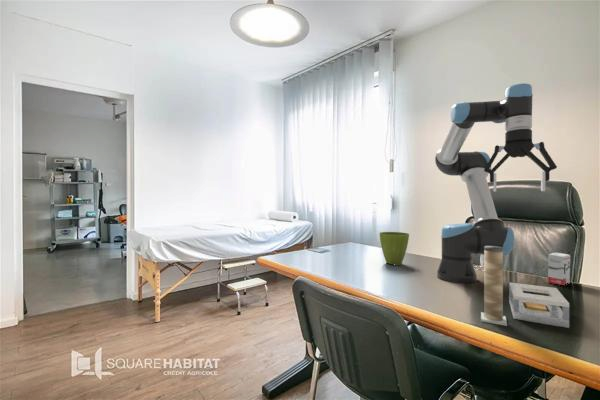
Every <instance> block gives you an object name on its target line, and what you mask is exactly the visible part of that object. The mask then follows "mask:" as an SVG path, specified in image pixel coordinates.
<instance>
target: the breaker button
mask: <svg viewBox="0 0 600 400" xmlns="http://www.w3.org/2000/svg"><path fill="white" fill-rule="evenodd" d="M525 308H528V309H535V310H541V311H547V308H546V306H545V305H544V304H537V303H530V302H525Z"/></svg>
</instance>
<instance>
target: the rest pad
mask: <svg viewBox="0 0 600 400" xmlns="http://www.w3.org/2000/svg"><path fill="white" fill-rule="evenodd" d="M480 322H483V323H489V324H493V325H500V326H505V327H508V322H507V317H506V316H505V315H503V320H502V321H494V320H490V319H487V318H485V317H484V312H483V311H480Z"/></svg>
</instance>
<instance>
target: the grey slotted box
mask: <svg viewBox="0 0 600 400" xmlns="http://www.w3.org/2000/svg"><path fill="white" fill-rule="evenodd" d="M508 284H509V285H508V288H509V289H508V293H509V294H508V299H509V300H508V301H509V306H510V307H509V308H510V309H511V310H510V311H511V313H512V318H513V319H514V320H520V321H526V322H532V323H539V324H542V325H550V326H556V327H561V328H567V329H570V302H569V301H568V300H567V299H566V298H565V297H564V295H563V294H562V293H561V292H560V291H559V289H558V288H557V287H553V286H543V285H534V284H527V283H526V284H525V283H518V282H510V281H509V283H508ZM528 292H529V293H528ZM530 292H532V293H530ZM533 293H535V294H533ZM536 293H537V294H536ZM538 293H540V294H538ZM543 294H546V295H543ZM525 302H530V303H537V304H544V305H545V306H546V308H547V311H541V310H535V309H528V308H525Z"/></svg>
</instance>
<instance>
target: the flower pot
mask: <svg viewBox="0 0 600 400" xmlns="http://www.w3.org/2000/svg"><path fill="white" fill-rule="evenodd" d="M378 234H379V241H380V245H381V250H382V254H383V257H384V260H385V263H386V264H387V263H389V264H395V265H394V266H400V265H399V264H401V265H402V264H403V261H404V258H405V256H406V252H407V248H408V245H409V244H408V243H409V239H410V238H409V237H410V233H407V232H401V231H380V232H379V233H378ZM389 264H388V265H389Z"/></svg>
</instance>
